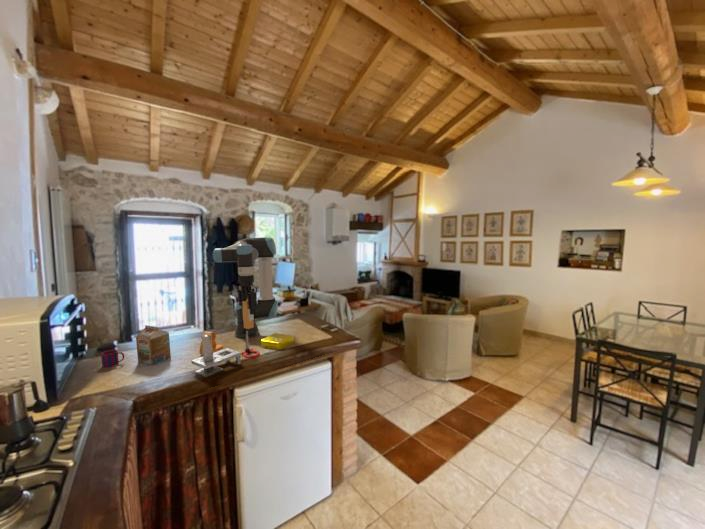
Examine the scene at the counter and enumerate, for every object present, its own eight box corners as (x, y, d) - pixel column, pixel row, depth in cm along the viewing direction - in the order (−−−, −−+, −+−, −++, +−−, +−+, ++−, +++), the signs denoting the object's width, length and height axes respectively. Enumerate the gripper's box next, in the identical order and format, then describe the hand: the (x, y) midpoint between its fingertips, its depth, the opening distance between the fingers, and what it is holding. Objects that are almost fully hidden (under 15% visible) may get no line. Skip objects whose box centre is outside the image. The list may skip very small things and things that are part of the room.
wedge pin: (249, 326, 159) (248, 300, 157) (253, 327, 157) (252, 300, 155) (243, 328, 156) (242, 301, 154) (248, 329, 154) (246, 302, 152)
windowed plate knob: (227, 358, 162) (225, 326, 161) (241, 363, 156) (239, 329, 154) (192, 372, 147) (189, 336, 145) (206, 378, 140) (203, 340, 138)
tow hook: (262, 355, 168) (253, 350, 174) (262, 332, 166) (252, 328, 172) (248, 360, 162) (239, 355, 168) (248, 336, 160) (239, 332, 166)
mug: (109, 362, 161) (107, 350, 160) (128, 361, 161) (127, 349, 160) (98, 367, 154) (97, 354, 154) (118, 367, 154) (117, 354, 154)
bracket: (210, 356, 166) (209, 335, 165) (199, 355, 168) (198, 334, 167) (224, 349, 176) (222, 329, 175) (213, 348, 178) (212, 328, 177)
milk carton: (138, 363, 159) (135, 328, 157) (157, 355, 169) (154, 322, 167) (151, 366, 155) (148, 330, 153) (170, 358, 165) (168, 324, 163)
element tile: (295, 342, 188) (294, 334, 187) (280, 350, 174) (279, 342, 174) (275, 339, 194) (275, 331, 193) (259, 347, 180) (259, 339, 180)
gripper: (229, 274, 155) (232, 319, 157) (250, 276, 146) (253, 324, 148) (241, 273, 161) (244, 316, 163) (262, 274, 152) (265, 320, 154)
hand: (248, 319), depth 156 cm, fingers closed on wedge pin, 3 cm apart
